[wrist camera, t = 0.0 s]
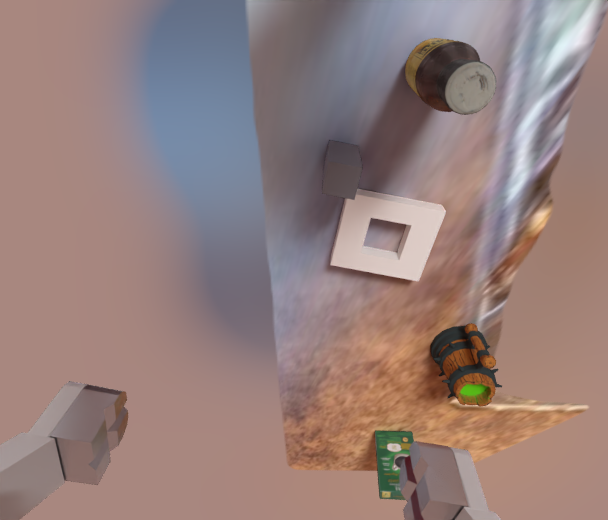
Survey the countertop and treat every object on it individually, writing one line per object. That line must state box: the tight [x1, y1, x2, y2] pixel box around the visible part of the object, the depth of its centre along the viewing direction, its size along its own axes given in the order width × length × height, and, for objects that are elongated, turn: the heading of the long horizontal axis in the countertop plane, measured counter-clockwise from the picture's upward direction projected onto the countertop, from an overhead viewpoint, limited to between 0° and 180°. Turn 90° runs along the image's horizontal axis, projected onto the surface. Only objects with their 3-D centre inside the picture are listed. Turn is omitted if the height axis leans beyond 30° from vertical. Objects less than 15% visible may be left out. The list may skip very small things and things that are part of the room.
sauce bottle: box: [405, 38, 496, 115], centre depth 40 cm, size 6×6×20 cm
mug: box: [431, 323, 502, 406], centre depth 66 cm, size 13×10×12 cm
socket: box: [330, 189, 446, 281], centre depth 60 cm, size 12×14×2 cm
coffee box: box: [375, 431, 414, 500], centre depth 79 cm, size 8×3×13 cm, turn 93°
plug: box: [322, 140, 363, 200], centre depth 51 cm, size 4×4×10 cm
